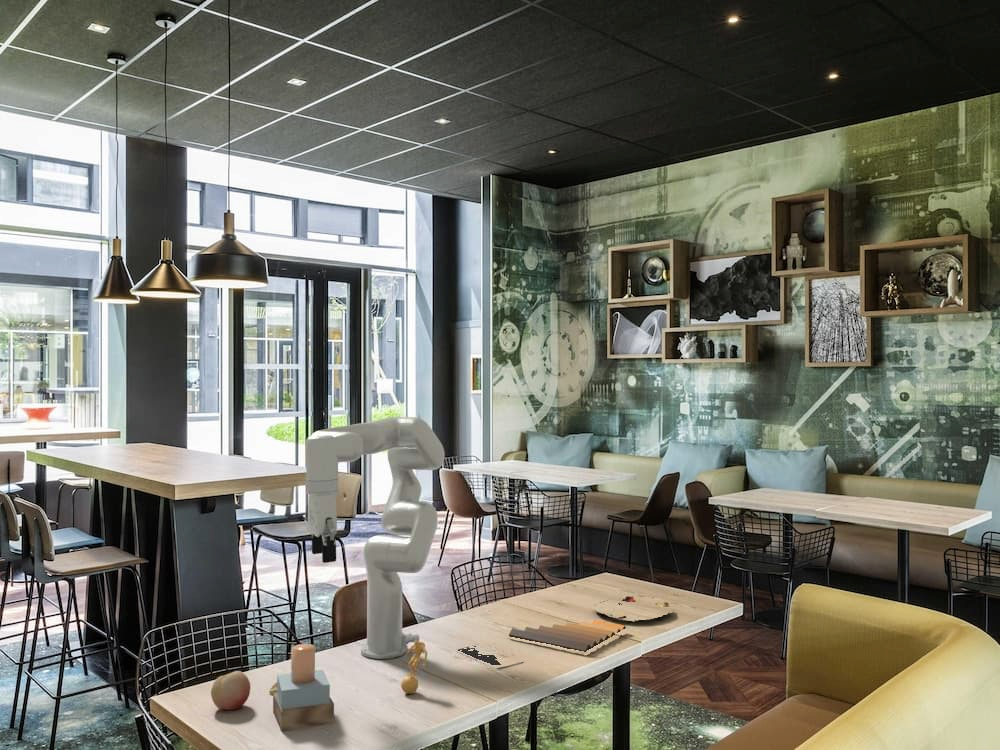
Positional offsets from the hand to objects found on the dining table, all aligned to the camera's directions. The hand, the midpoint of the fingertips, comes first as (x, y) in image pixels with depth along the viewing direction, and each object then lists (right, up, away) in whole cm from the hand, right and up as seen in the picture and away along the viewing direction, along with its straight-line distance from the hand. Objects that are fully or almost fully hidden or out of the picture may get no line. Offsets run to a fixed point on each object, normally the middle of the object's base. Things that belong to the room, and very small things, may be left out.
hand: (323, 557), depth 191 cm
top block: (-1, -27, -18) cm, 32 cm away
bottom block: (-1, -31, -18) cm, 36 cm away
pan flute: (+62, -33, +39) cm, 81 cm away
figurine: (+22, -31, -4) cm, 38 cm away
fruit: (-18, -31, -13) cm, 38 cm away
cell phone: (+39, -32, +22) cm, 55 cm away
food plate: (+85, -33, +63) cm, 111 cm away
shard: (-10, -32, -1) cm, 33 cm away
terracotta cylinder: (-1, -23, -18) cm, 29 cm away
